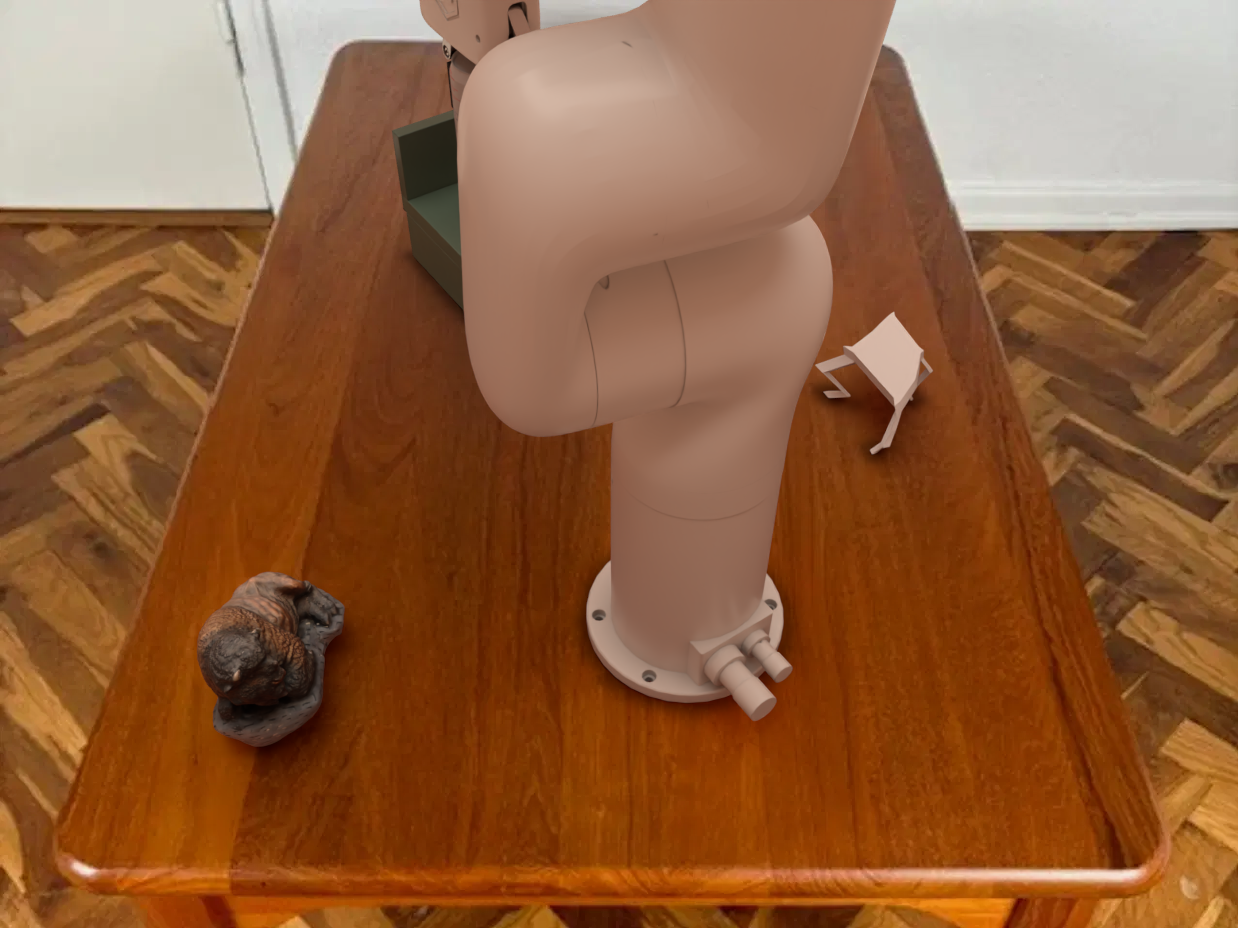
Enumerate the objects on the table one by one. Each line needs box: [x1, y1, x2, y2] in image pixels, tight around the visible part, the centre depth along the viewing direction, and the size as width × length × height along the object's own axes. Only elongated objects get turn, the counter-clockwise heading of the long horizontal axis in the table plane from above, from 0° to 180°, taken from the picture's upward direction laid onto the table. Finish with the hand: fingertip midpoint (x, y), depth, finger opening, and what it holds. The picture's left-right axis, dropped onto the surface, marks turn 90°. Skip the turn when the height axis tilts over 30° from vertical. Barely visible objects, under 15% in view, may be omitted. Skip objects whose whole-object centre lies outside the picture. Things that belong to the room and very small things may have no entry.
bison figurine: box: [196, 571, 346, 748], centre depth 70 cm, size 12×7×10 cm, turn 2°
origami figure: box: [814, 311, 934, 455], centre depth 89 cm, size 12×8×5 cm
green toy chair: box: [391, 109, 464, 311], centre depth 98 cm, size 11×11×12 cm
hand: (491, 120), depth 91 cm, fingers closed on energy drink, 5 cm apart
